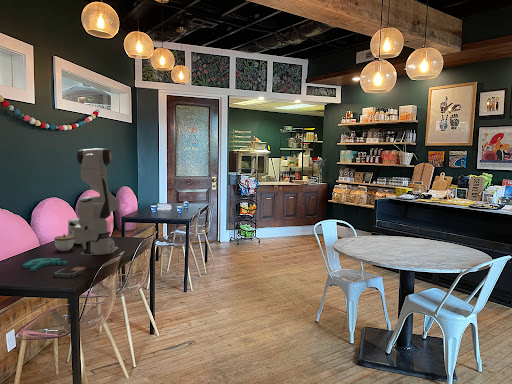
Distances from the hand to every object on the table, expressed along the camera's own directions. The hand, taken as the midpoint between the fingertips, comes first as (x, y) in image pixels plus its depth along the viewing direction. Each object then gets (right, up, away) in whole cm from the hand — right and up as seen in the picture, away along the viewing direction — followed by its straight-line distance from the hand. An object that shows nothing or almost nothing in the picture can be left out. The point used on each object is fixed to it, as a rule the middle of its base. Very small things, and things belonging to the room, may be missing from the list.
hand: (87, 248), depth 227 cm
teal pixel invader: (-27, -11, +2) cm, 29 cm away
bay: (-3, -12, -17) cm, 21 cm away
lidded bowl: (-34, -7, +40) cm, 53 cm away
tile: (-1, -12, -7) cm, 14 cm away
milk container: (-34, -5, +63) cm, 72 cm away
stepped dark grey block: (0, -4, 0) cm, 4 cm away
